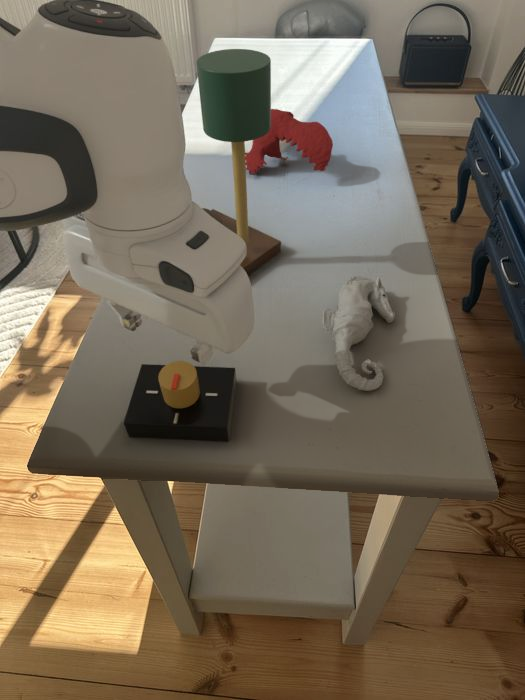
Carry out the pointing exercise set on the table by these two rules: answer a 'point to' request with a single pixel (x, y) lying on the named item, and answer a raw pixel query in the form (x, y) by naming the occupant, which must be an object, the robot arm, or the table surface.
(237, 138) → the lamp
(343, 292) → the seahorse
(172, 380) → the dimmer knob
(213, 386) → the dimmer
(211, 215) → the button
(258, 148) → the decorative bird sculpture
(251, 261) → the lamp base
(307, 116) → the table surface
